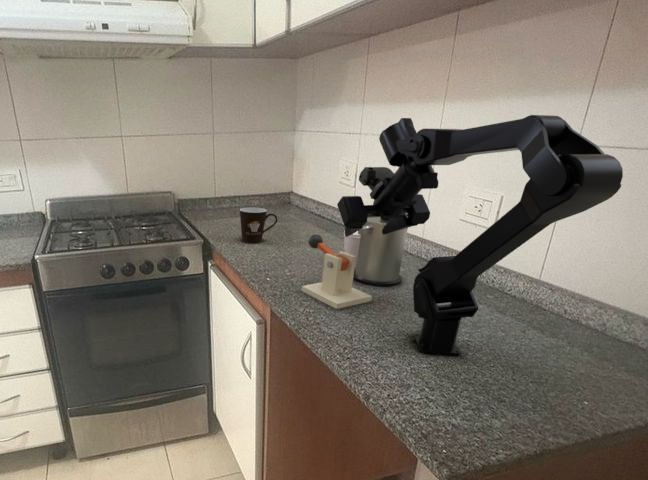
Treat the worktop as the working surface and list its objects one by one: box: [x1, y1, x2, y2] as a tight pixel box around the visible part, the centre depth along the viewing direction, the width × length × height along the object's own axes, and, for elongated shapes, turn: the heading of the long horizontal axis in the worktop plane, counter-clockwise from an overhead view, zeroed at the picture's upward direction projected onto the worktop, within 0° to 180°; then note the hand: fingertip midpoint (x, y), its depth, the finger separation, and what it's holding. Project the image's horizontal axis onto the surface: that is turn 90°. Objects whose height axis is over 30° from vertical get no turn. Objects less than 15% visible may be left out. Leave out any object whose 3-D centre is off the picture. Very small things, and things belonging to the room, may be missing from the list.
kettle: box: [353, 217, 409, 288], centre depth 107 cm, size 16×12×16 cm
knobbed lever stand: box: [300, 251, 373, 310], centre depth 97 cm, size 12×10×10 cm
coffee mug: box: [239, 207, 278, 244], centre depth 142 cm, size 12×9×10 cm
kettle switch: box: [308, 234, 349, 271], centre depth 99 cm, size 12×3×3 cm, turn 28°
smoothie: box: [342, 229, 361, 269], centre depth 117 cm, size 6×6×14 cm
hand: (364, 233), depth 96 cm, fingers open, 9 cm apart
